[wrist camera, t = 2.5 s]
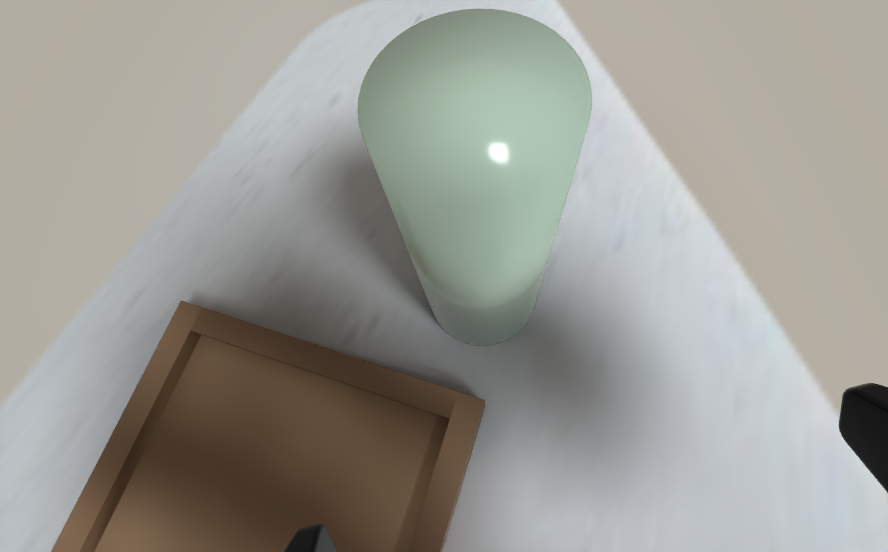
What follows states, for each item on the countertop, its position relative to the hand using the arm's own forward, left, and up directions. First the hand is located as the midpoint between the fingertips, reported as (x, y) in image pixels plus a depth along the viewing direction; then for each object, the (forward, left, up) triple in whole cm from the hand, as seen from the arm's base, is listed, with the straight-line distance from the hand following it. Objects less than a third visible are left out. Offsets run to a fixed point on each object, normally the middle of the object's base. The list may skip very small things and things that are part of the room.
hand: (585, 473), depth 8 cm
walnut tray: (-5, +9, -11) cm, 15 cm away
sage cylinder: (+6, +4, -11) cm, 13 cm away
